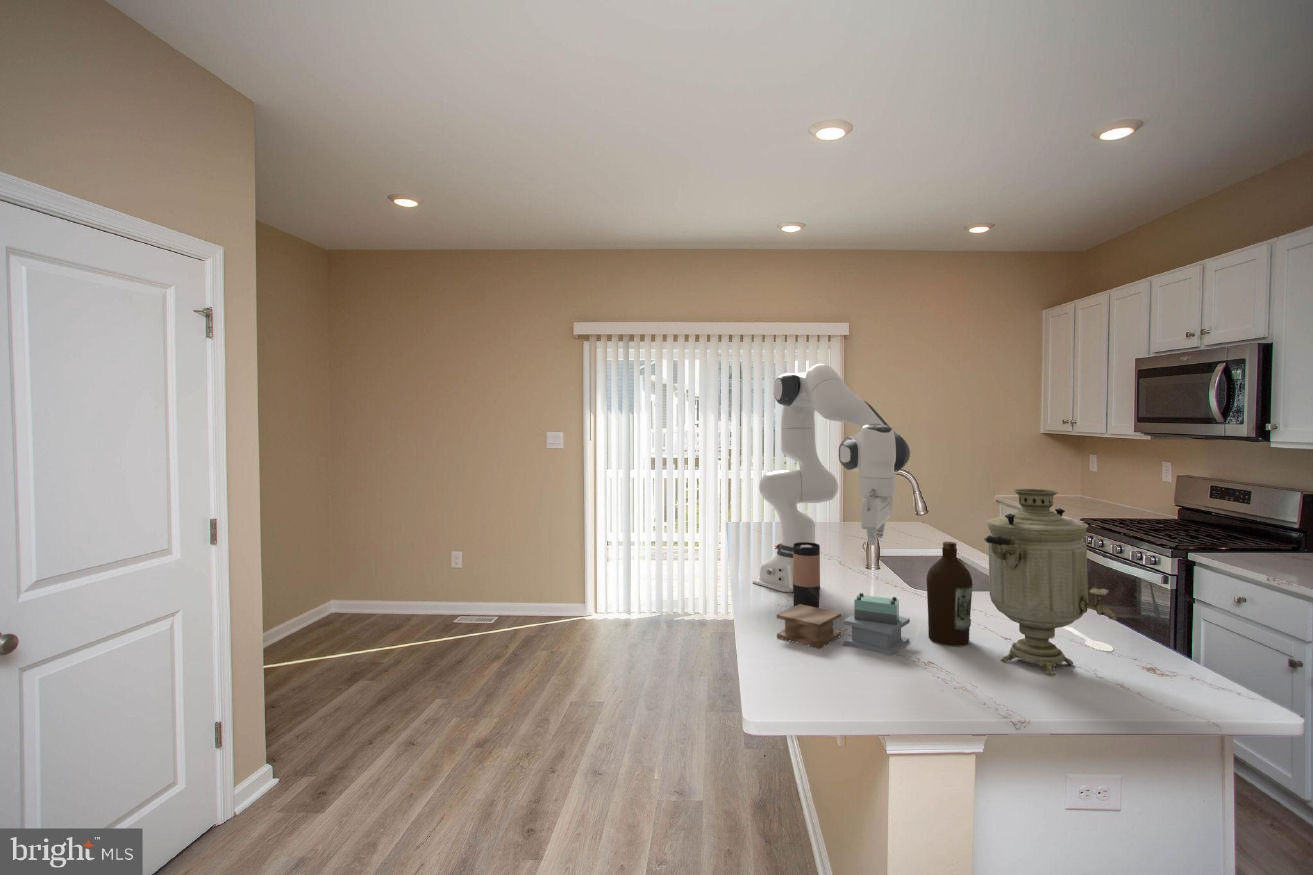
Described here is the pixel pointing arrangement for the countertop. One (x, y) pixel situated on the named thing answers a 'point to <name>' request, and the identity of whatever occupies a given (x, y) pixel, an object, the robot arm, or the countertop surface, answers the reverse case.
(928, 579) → the olive oil
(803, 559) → the travel mug
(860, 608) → the block
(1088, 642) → the spoon
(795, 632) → the stand
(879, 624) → the stand
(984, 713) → the countertop surface
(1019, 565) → the samovar
